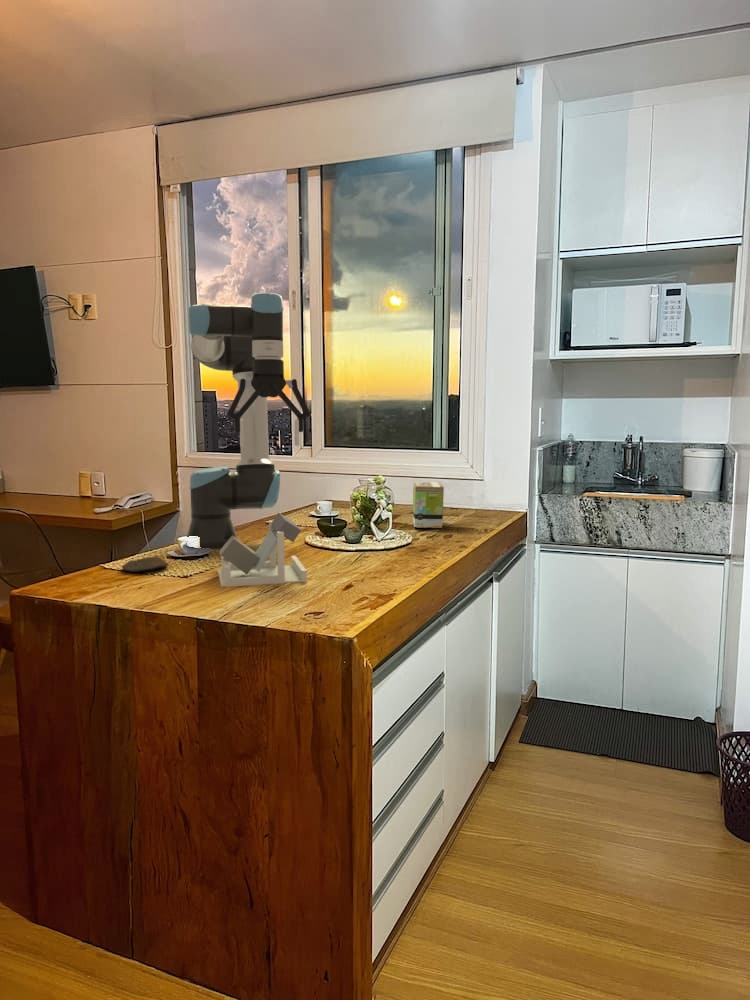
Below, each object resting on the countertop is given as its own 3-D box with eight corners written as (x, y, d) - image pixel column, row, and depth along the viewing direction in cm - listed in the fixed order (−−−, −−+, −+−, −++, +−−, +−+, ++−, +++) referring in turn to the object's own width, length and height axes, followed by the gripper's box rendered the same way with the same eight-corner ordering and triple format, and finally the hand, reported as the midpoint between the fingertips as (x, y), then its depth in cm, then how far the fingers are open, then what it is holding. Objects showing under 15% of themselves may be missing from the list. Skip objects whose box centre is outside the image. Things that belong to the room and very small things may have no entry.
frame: (217, 571, 185) (216, 523, 183) (295, 566, 190) (295, 519, 188) (221, 588, 168) (219, 535, 166) (306, 582, 173) (306, 531, 171)
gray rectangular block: (246, 574, 175) (220, 555, 173) (245, 570, 180) (219, 550, 178) (259, 558, 176) (233, 538, 173) (257, 554, 180) (232, 535, 178)
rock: (129, 574, 178) (128, 564, 178) (117, 569, 188) (116, 559, 188) (173, 568, 184) (172, 557, 184) (160, 563, 194) (159, 553, 194)
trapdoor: (264, 566, 185) (249, 557, 184) (293, 521, 186) (278, 512, 184) (270, 578, 173) (254, 569, 172) (301, 530, 173) (285, 520, 172)
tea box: (443, 529, 245) (444, 486, 243) (413, 529, 245) (414, 486, 243) (440, 522, 260) (440, 481, 258) (412, 522, 260) (412, 481, 258)
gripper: (216, 357, 170) (218, 447, 174) (321, 358, 176) (321, 446, 179) (215, 358, 178) (218, 445, 181) (316, 360, 183) (317, 444, 186)
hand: (269, 446), depth 180 cm, fingers open, 13 cm apart
